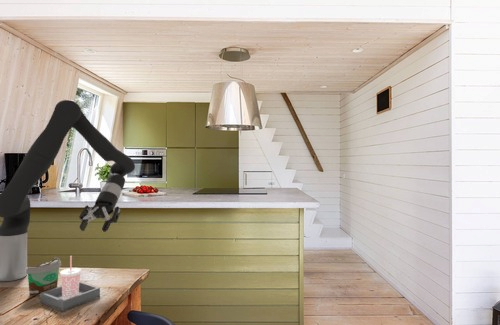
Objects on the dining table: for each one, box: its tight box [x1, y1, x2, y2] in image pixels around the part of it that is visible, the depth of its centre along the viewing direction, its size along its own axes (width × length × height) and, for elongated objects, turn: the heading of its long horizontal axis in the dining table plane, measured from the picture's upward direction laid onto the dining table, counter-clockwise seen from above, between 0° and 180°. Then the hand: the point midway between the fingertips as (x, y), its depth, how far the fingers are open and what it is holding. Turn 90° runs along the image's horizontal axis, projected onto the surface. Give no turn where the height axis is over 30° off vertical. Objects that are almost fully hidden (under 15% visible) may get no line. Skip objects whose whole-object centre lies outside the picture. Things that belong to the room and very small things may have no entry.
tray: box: [39, 280, 101, 312], centre depth 105 cm, size 13×13×3 cm
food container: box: [26, 256, 62, 297], centre depth 112 cm, size 12×6×10 cm, turn 168°
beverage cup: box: [59, 255, 82, 300], centre depth 105 cm, size 6×6×14 cm
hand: (92, 230), depth 118 cm, fingers open, 8 cm apart
